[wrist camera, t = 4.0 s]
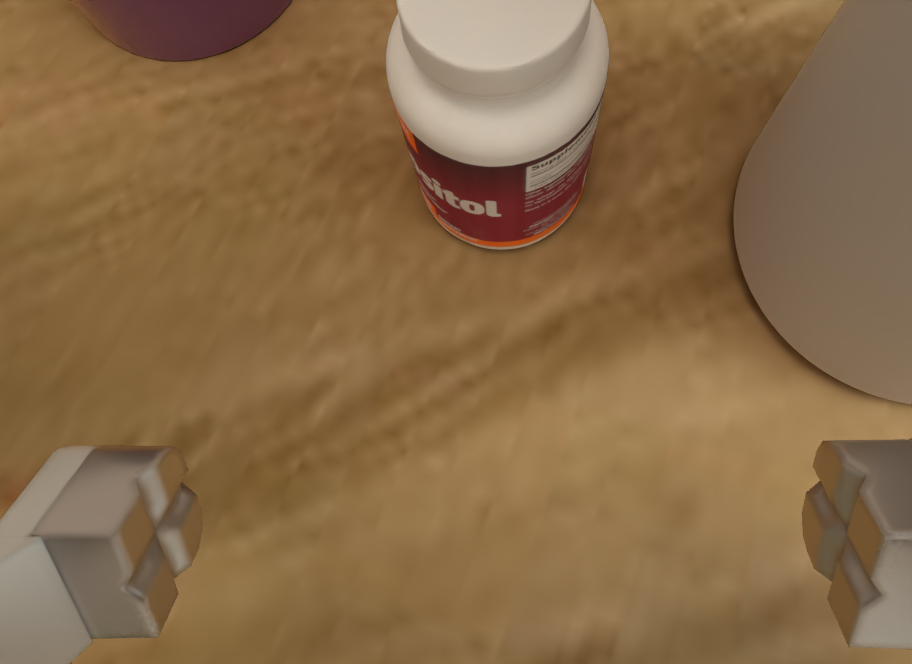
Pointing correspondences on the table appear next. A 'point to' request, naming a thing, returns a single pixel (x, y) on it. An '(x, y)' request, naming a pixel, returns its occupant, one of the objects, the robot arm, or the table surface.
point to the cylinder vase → (839, 203)
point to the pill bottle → (499, 110)
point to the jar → (180, 24)
